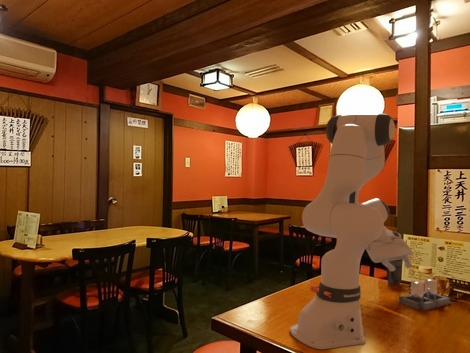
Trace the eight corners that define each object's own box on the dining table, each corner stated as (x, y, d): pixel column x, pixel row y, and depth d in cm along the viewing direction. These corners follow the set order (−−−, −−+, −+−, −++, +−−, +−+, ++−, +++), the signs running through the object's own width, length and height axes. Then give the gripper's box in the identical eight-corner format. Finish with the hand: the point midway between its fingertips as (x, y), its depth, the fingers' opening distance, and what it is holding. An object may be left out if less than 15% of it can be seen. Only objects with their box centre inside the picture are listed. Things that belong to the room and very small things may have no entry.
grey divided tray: (421, 313, 118) (421, 305, 118) (398, 305, 126) (398, 297, 126) (449, 306, 125) (449, 298, 125) (426, 298, 133) (426, 290, 133)
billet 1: (419, 307, 121) (419, 284, 121) (409, 303, 125) (408, 281, 125) (426, 305, 123) (426, 283, 123) (416, 302, 126) (415, 280, 127)
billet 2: (432, 304, 124) (432, 282, 124) (422, 300, 128) (422, 279, 128) (439, 302, 126) (439, 280, 126) (428, 299, 130) (429, 277, 130)
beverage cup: (404, 288, 146) (405, 241, 146) (386, 286, 147) (386, 240, 148) (400, 283, 153) (400, 238, 153) (382, 282, 154) (383, 237, 155)
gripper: (366, 236, 132) (388, 267, 123) (402, 233, 141) (424, 261, 132) (357, 245, 136) (377, 276, 127) (392, 242, 145) (413, 270, 136)
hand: (401, 269), depth 130 cm, fingers open, 8 cm apart
